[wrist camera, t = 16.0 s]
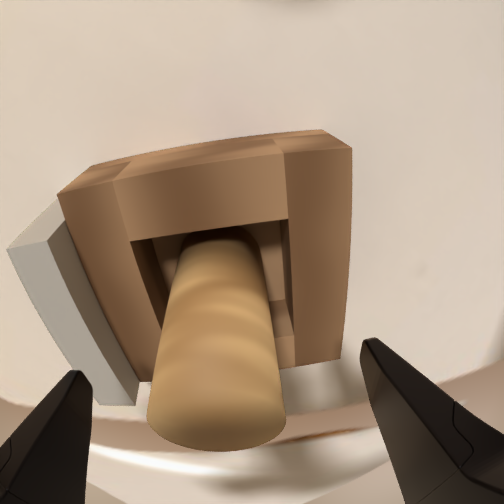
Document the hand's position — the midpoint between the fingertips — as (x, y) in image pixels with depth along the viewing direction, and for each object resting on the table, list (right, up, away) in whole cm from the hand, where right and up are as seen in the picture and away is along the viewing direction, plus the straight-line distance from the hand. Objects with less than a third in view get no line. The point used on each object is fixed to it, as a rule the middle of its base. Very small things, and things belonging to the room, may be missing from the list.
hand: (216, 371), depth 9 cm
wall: (-6, +2, +6) cm, 9 cm away
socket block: (0, +4, +6) cm, 7 cm away
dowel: (0, +3, +5) cm, 6 cm away
